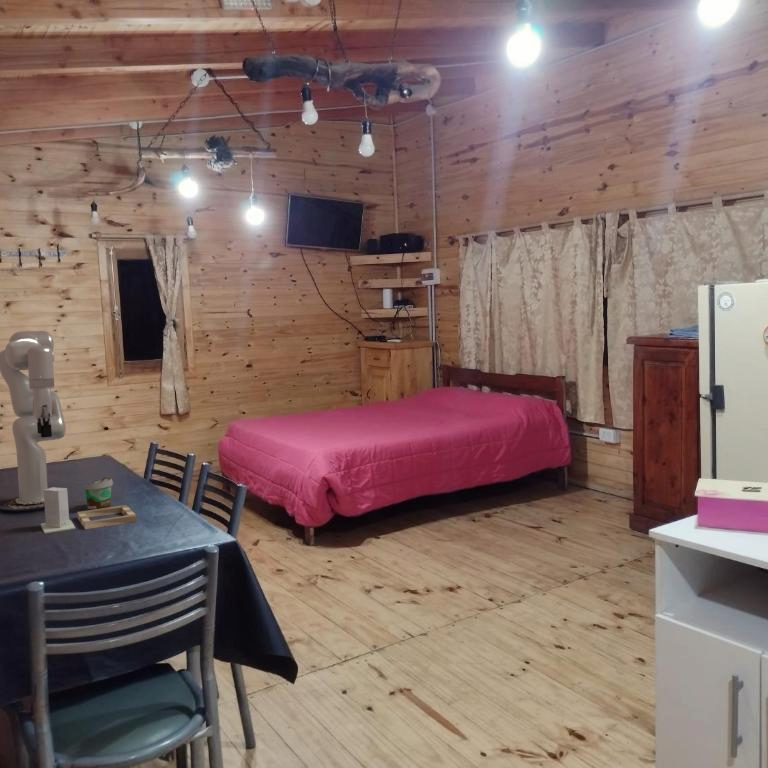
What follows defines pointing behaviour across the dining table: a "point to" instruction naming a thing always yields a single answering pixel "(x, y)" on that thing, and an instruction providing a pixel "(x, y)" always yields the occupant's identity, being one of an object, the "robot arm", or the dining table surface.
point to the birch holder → (87, 524)
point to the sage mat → (56, 529)
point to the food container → (99, 493)
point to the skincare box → (56, 507)
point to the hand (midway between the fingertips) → (44, 435)
